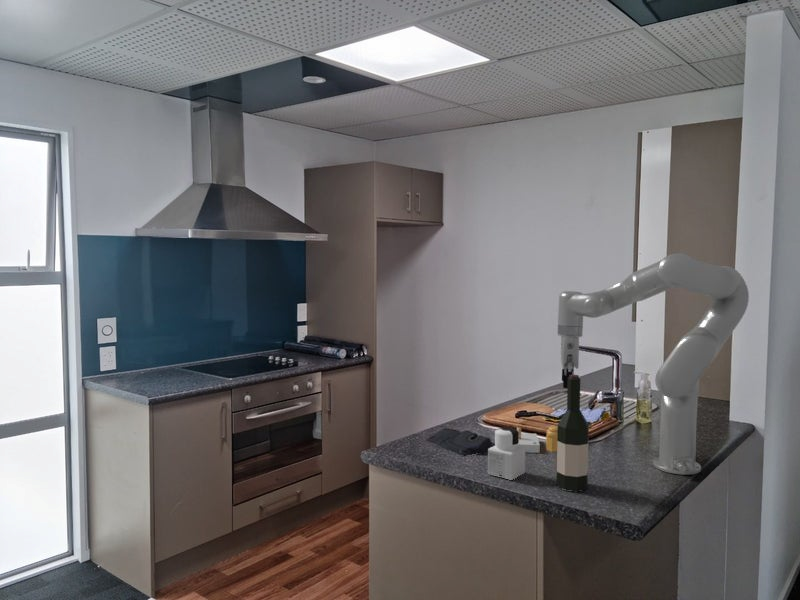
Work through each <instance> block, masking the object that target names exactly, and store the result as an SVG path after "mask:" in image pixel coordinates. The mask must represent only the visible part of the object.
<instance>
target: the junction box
mask: <svg viewBox="0 0 800 600" xmlns="http://www.w3.org/2000/svg"><path fill="white" fill-rule="evenodd" d="M516 430H517V431H518V432H519V445H518V446H521V447H525V453H531V454H532V453H533V454H536V453H537V454H540V452H541V451H540V448H541V446H540V445H541V443H540V441H539V437H538V434H537V433H528V432H527V433H525V432H523V433H522V427H520V426H519V427H516Z"/></svg>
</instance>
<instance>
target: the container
mask: <svg viewBox="0 0 800 600" xmlns="http://www.w3.org/2000/svg"><path fill="white" fill-rule="evenodd" d="M494 444H495V446H493V447H491V448H489V449H488V452H487V475H488V474H491V475H494V476H498V477H502V478H505V479H509V480H513V479H514V480H516V479H517V477H518V476H520V475H521V476H523V475H525V474H524V473H526V452H525V447H521V446H518V445H519V432H518V431H517V429H516V428H513V427H500V428H497V429H496V430H495V431H494ZM522 474H523V475H522ZM521 476H520V477H521ZM515 478H516V479H515ZM518 478H519V477H518ZM505 479H504V480H505ZM509 480H508V481H509ZM514 480H513V481H514Z"/></svg>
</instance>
